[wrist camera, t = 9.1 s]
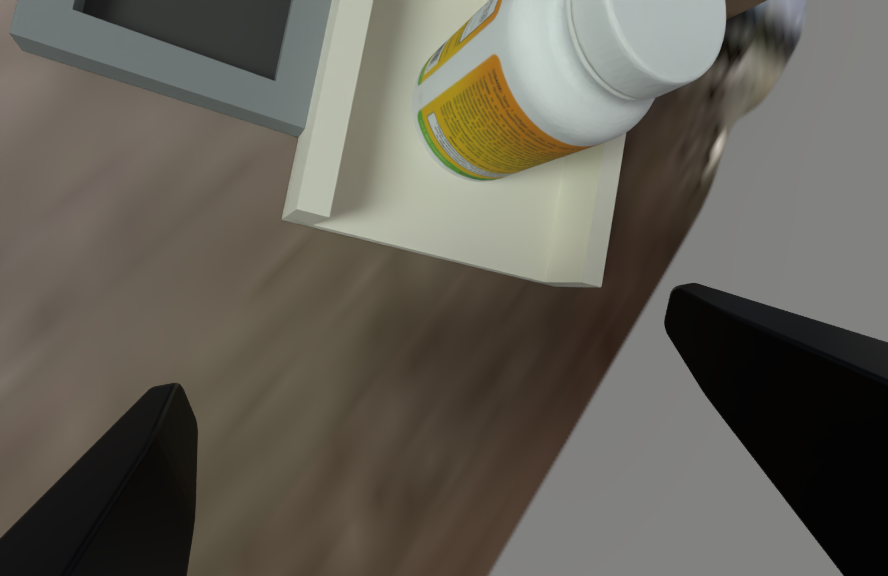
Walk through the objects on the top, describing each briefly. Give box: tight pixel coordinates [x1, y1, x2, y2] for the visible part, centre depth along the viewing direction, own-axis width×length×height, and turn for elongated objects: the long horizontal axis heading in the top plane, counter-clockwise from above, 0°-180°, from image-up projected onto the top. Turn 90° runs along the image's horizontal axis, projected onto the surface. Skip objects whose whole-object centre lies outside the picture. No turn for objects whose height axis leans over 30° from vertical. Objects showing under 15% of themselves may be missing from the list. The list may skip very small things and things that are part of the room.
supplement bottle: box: [412, 0, 726, 182], centre depth 17 cm, size 5×5×10 cm
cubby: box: [282, 0, 626, 287], centre depth 20 cm, size 12×12×3 cm
